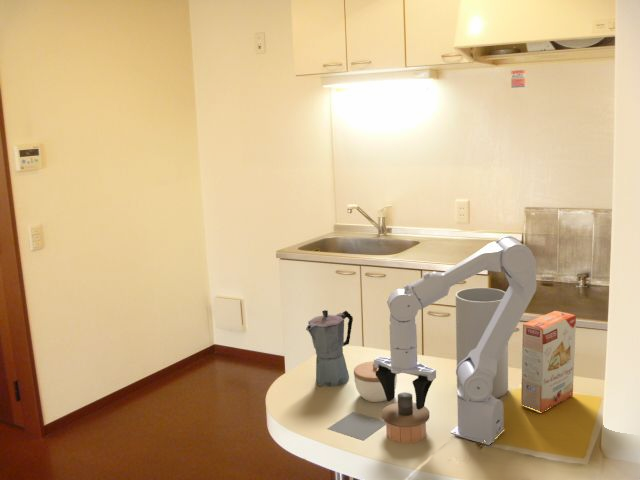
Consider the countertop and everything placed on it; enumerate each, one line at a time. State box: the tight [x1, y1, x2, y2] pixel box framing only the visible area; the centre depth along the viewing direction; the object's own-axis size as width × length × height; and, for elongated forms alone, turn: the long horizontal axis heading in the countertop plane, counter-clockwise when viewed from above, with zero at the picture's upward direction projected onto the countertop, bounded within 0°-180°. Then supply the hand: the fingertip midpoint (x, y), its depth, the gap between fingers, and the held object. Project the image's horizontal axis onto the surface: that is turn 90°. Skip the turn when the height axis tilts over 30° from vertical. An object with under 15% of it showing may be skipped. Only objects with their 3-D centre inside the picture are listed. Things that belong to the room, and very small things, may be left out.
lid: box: [381, 391, 430, 427], centre depth 147 cm, size 10×10×5 cm
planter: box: [385, 422, 427, 444], centre depth 148 cm, size 9×9×4 cm
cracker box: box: [520, 310, 577, 413], centre depth 158 cm, size 14×6×21 cm, turn 129°
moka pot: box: [305, 310, 354, 387], centre depth 177 cm, size 10×15×20 cm, turn 132°
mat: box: [326, 411, 386, 441], centre depth 153 cm, size 10×10×1 cm
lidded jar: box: [353, 360, 398, 403], centre depth 166 cm, size 11×11×9 cm
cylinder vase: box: [455, 287, 509, 399], centre depth 166 cm, size 12×12×25 cm
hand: (405, 403), depth 147 cm, fingers open, 7 cm apart
